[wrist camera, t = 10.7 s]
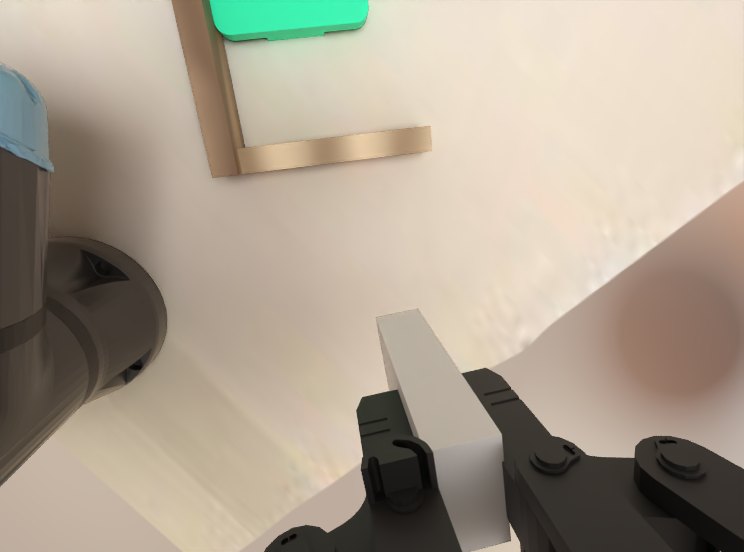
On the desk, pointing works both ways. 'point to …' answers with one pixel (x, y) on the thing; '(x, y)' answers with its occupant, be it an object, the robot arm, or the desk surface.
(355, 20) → the camera mount
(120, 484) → the desk surface
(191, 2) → the u-shaped wooden frame
